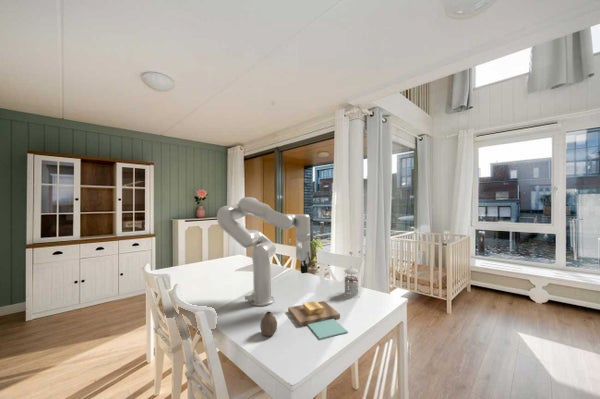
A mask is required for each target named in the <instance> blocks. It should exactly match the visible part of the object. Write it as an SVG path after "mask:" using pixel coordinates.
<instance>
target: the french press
mask: <svg viewBox="0 0 600 399" xmlns="http://www.w3.org/2000/svg"><path fill="white" fill-rule="evenodd" d="M352 254H354V253H353V251H349V255H352ZM343 271H344V275H346V274H347V275H346V276H344V292H343V293H342V295H343V296H344V297H346V298H349V299H355V298H359V297H361V294H360V293H359V279H358V277H357V276H354V274H358V273H359V270H358V269H356V268H353V267H349V268H346V269H344V270H343Z"/></svg>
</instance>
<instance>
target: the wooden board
mask: <svg viewBox="0 0 600 399" xmlns="http://www.w3.org/2000/svg"><path fill="white" fill-rule="evenodd" d="M317 302H318V303H319V304H320V305H321V306H322V307H323V308H324V313H321V314H316V315H311V316H310V315H309V314H308V313H307V312H306V311H305V310H304V309H303V304H299V305H296V306H295V305H293V306H291V307H290V306H289V307H287V312H288V313H289V314H290V316H291V317H292V319H293V320H294V321H295V322H296V323H297V325H298V326H299V327H300V328H301V327H306V326H307V327H308V324H310V323H315V322H319V321H324V320H329V319H335V320H339V319H341V313H339V312H338V311H337V310H336V309H334V307H332V306H331V305H330V304H328V303H327V302H326V301H324V300H323V301H317Z"/></svg>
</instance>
